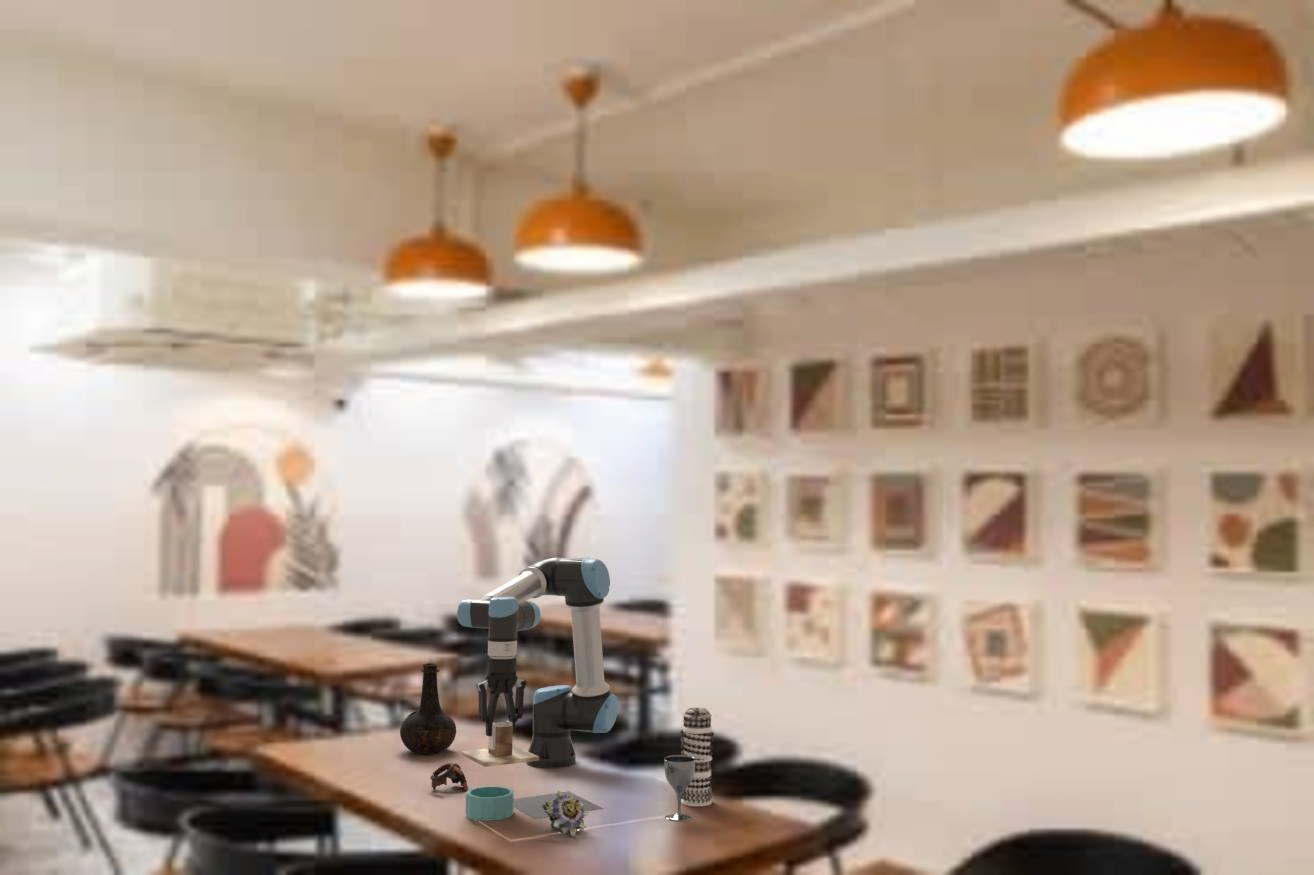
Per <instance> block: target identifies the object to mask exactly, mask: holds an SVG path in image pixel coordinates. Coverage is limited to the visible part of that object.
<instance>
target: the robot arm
mask: <svg viewBox="0 0 1314 875" xmlns="http://www.w3.org/2000/svg"><path fill="white" fill-rule="evenodd" d="M610 585H611V576H610V572H609V571H608V567H607V566H606V564H605V563H604V562H603V561H602V560H601V559H597V558H591V557H561V556H555V557H549V558H546V559H542V560H539V561H537V562H535V563H532V564H530V565H528V566H527V567H525V568H523V569H522V570H520V572H519V573H518V575H517V576H516V577H513V579H511V580H509V581H507V582H506V583H504V584H502V585H501V586H499V587H497V588H495V589H493V590H492V591H490V592H488V593H486V594H485V595H482V596H481V597H479V598H477V599H473V598H469V599H463V600H462V601H460V603H459V605H458V607H457V609H456V610H457V611H456V614H457V617H456V619H457V621H458V624H460V625H461V626H462V627H468V628H472V629H474V628H476V629H488V637H487V638H488V639H487V656H489V657H488V658H487V668H486V669H487V675H486V678H485V680H483V681H482V682H476V686H475V687H476V688H477V692H478V720H479V721H481V722H483V723H484V724H485V736H487V737H488V743H487V744H488V748H490V749H492V750H495V742H496V724H495V723H496V722H494V721H495V720H494V718H495V714H496V710H497V705H498V700H499V698H500V694H503V696H504V701H505V706H506V712H507V719H508V720H505V722H504V723H506V724H509V725H512V726H513V735H515V733H516V723H517V722H518V721H519V719H522V718H523V715H524V699H525V698H524V696H525V688H526V686H527V680H524V679H521V678H518V675H517V662H518V660H517V657H516V656H517V654H518V632H520V631H529V630H531V629H533V628H535V627H536V626H537V625H538V624H539V622H540V620H541V616H542V614H541V610H540V608H539V606H538V604H536V603H535V602H534V601H531V599H538V598H541V597H542V596H557V597H558V596H559V597H564V602H565V606H566V607H568V608H569V609H570V615H571V628H572V630H571V631H572V641H573V642H572V644H573V654H574V655H573V656H574V668H575V682H576V684H575V685H574V686H573V687H572V686H571V685H567V684H561V685H553V686H552V685H551V686H545V687H541V688H538V689H536V690H535V692H534V693H533V702H532V737H531V741H530V745H529V747H528V750H527V752H530V753H532V754H534V755H537V756H539V761H531V762H526V764H527V765H528V766H529V765H530V766H532V767H538V768H549V769H550V768H551V769H552V768H554V769H555V768H562V767H563V768H565V767H568V766H573V765H575V764H576V757H577V756H576V752H575V749H574V745H573V741H572V739H571V738H572V737H571V731H578V732H584V733H585V732H586V733H593V734H597V733H600V734H601V733H603V734H604V733H608V732H610V731H611V729H612V728H613V727H614V724H615V722H616V719H617V717H618V712H619V698H618V697H617V696H616V695H615V694H613V693H611V686H610V685H609V684H608V683H607V682H605V672H604V655H603V644H602V628H601V627H602V626H601V613H600V612H601V611H600V607H601V605H602V604H604V601H605V600H604V599H605V598H606V597H607V596H608V595H609V592H610V587H611V586H610ZM515 686H516V687H515ZM488 687H489V690H490V691H489V700H488V699H487V698H488V697H487V696H488V694H487V690H488ZM514 687H515V700H514V698H513V696H514V692H513V688H514ZM487 700H488V702H487ZM488 748H487V749H488Z"/></svg>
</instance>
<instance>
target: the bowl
mask: <svg viewBox="0 0 1314 875" xmlns="http://www.w3.org/2000/svg"><path fill="white" fill-rule="evenodd" d="M514 799H515V790H513V789H512V788H511V787H507V786H506V787H505V786H500V785H488V786H487V785H485V786H476V787H473V788H471V789H470V788H469V789H467V790H466V794H465V817H466V819H468V818H469V819H470V820H469V819H468V820H469V821H472V820H477V821H481V822H480V823H483V821H499V820H504V819H508V818H510V817H512V816H513V815H514ZM477 821H476V822H477Z"/></svg>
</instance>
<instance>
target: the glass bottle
mask: <svg viewBox="0 0 1314 875" xmlns="http://www.w3.org/2000/svg"><path fill="white" fill-rule="evenodd" d="M440 671H441V670H440V669H438V665H437V664H436V663H431V662H428V663H423V664H422V668H421V669H420V672H421V673H422V687H421V696H420V701H419V702H420V703H419V707H418V710H415V711H413V712H411V713H409V714H408V715H407V717H406V718H404V720H403V721H402V723H401V726H400V729H399V735H400V739H401V742H402V743H403V745H404V746H405V747H406V749H407V750H409V751H410V752H411V753H413V754H416V755H424V754H425V755H434V754H435V753H436V754H439V753H442V752H444V751H445V750H448V748H449V747H450V746H451V745H452V744H453V743H454V741H455V738H456V735H457V726H456V723H455V721H454V720H453V719H452V717H451V716H449V715H448V714H447V713H445V712H443V710H442V707H441V704H440V697H439V689H438V673H439V672H440Z"/></svg>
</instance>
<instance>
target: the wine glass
mask: <svg viewBox="0 0 1314 875" xmlns="http://www.w3.org/2000/svg"><path fill="white" fill-rule="evenodd" d="M663 763H664V773H665V774H664V775H665V778H666V781H667V783H668V784H669V785H670V787H671V788H672V790H674V792H675V795H676V801H677V811H676V813H669V814H667V815H665V819H666V820H668V821H672V822H687V821H691V820H692V819H694V817H693V815H691V814H688V813H683V812H682V810H681V809H682V808H681V805H682V803H681V799H682V794H683V792H684V790H685V789H686V788H687V787H688V786H689V784H690V783H691V782H692V780H693V776H694V771H695V758H694V757H691V756H685V755H681V754H676V755H675V754H674V755H668V756H664V762H663Z"/></svg>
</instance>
